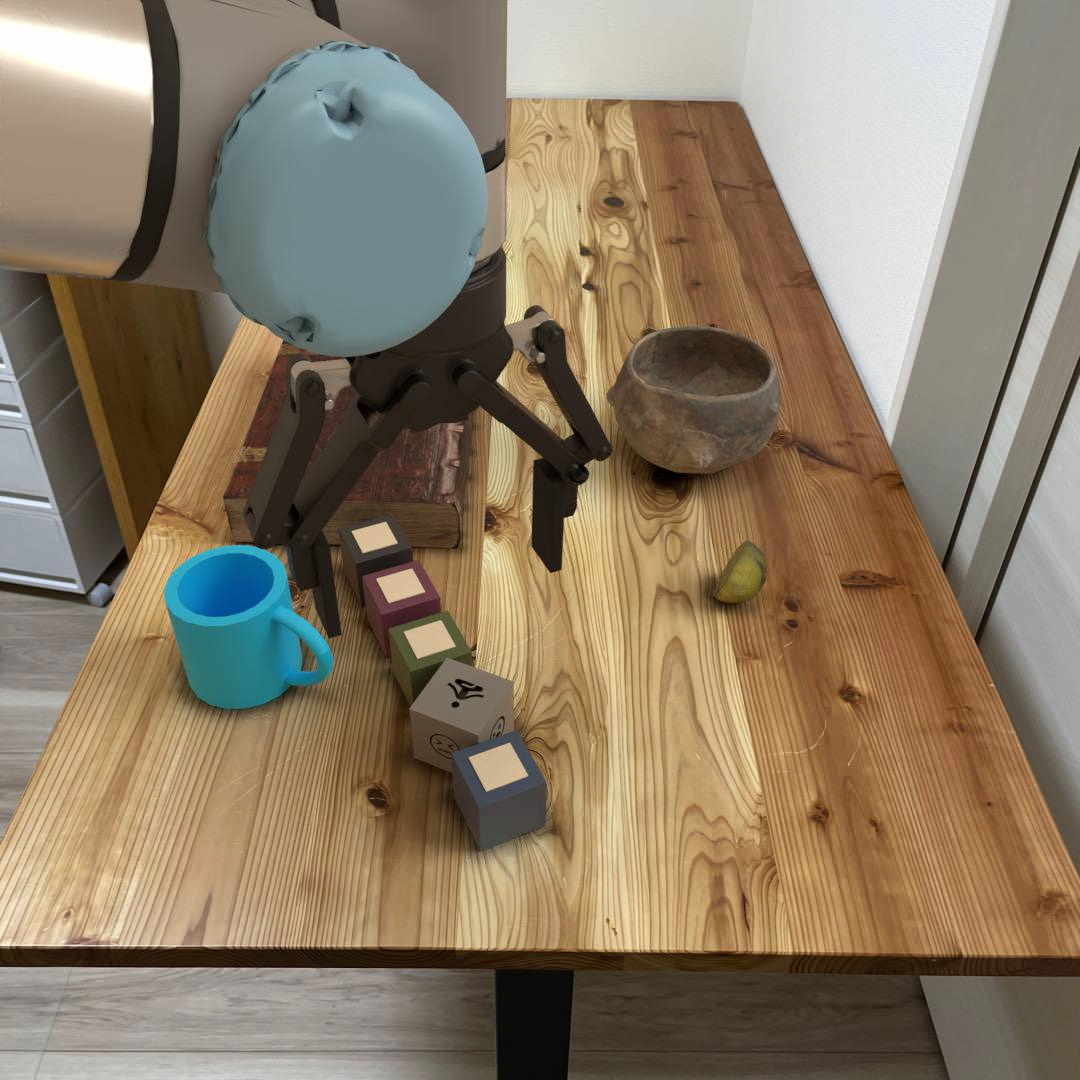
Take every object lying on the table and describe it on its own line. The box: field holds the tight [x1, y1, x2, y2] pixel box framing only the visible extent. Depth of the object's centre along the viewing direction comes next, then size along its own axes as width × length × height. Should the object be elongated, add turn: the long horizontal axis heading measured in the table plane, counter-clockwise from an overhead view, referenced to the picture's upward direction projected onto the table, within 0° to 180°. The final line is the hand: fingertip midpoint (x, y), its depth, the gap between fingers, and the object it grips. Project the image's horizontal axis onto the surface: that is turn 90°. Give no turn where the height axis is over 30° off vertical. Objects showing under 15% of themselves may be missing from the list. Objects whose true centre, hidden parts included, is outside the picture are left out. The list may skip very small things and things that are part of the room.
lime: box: [713, 540, 768, 604], centre depth 83 cm, size 4×5×5 cm
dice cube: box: [408, 658, 515, 774], centre depth 71 cm, size 5×5×5 cm
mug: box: [163, 544, 334, 710], centre depth 75 cm, size 12×8×8 cm
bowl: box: [605, 325, 782, 475], centre depth 96 cm, size 14×15×10 cm
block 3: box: [388, 610, 473, 708], centre depth 75 cm, size 4×4×5 cm
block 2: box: [362, 559, 442, 659], centre depth 79 cm, size 4×4×5 cm
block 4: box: [451, 729, 548, 852], centre depth 67 cm, size 4×4×5 cm
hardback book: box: [222, 339, 474, 549], centre depth 98 cm, size 29×19×5 cm, turn 179°
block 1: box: [338, 514, 414, 607], centre depth 84 cm, size 4×4×5 cm
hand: (441, 589), depth 63 cm, fingers open, 13 cm apart
